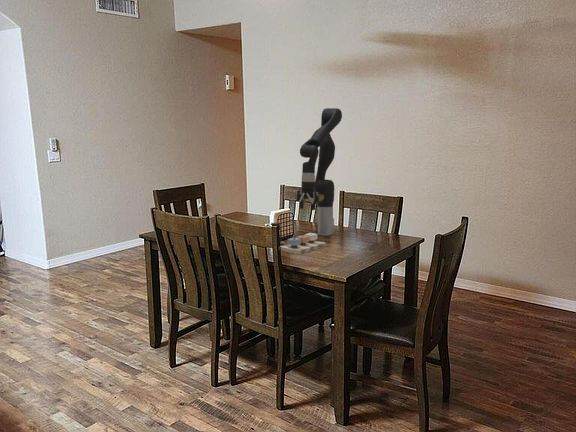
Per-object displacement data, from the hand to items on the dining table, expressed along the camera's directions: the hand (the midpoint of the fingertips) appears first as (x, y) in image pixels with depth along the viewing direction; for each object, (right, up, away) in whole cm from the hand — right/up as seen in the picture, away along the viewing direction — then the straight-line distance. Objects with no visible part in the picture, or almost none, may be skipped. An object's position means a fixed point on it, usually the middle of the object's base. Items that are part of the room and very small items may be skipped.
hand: (307, 209), depth 283 cm
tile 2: (-3, -18, -13) cm, 22 cm away
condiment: (-17, -20, -1) cm, 26 cm away
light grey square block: (+2, -16, -8) cm, 19 cm away
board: (-3, -21, -13) cm, 25 cm away
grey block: (-8, -19, -18) cm, 27 cm away
